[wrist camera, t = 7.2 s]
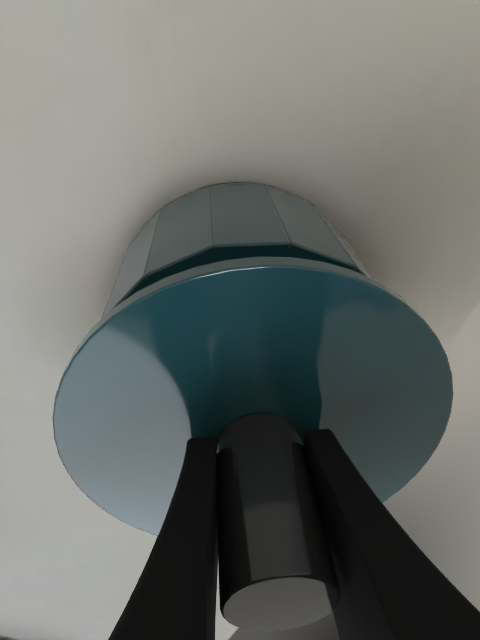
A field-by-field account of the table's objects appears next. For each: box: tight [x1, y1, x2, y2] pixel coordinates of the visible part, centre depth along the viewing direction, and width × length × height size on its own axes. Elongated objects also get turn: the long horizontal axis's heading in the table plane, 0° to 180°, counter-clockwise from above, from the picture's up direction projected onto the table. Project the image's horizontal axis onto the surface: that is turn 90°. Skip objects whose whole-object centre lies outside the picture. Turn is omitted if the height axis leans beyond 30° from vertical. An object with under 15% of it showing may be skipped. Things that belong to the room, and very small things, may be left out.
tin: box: [101, 182, 375, 319], centre depth 16 cm, size 10×10×6 cm
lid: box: [53, 257, 453, 631], centre depth 10 cm, size 11×11×5 cm
